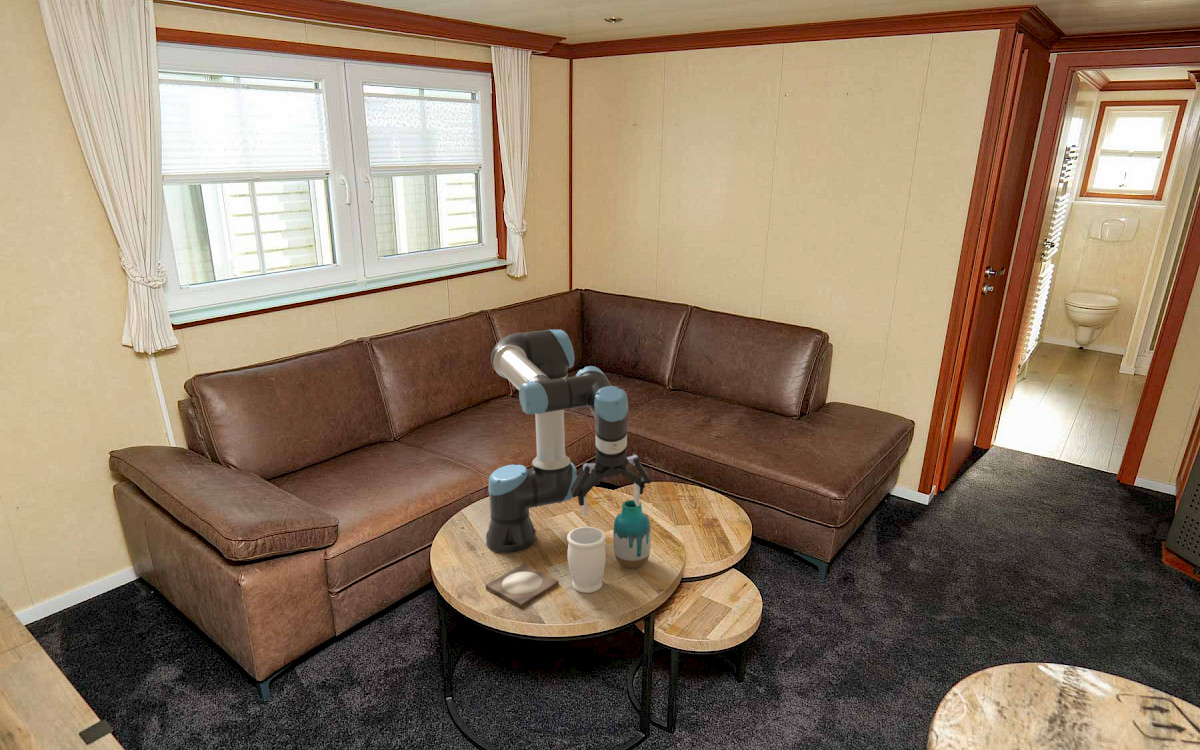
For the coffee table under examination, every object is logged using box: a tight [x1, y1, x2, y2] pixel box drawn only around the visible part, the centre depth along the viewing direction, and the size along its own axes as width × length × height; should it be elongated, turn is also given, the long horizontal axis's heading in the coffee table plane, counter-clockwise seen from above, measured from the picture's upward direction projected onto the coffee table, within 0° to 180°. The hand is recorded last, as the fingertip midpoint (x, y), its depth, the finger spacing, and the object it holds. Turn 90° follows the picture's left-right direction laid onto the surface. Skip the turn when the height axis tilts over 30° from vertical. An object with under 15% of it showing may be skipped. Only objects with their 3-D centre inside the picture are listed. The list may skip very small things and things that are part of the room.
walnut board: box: [485, 563, 560, 609], centre depth 188 cm, size 14×14×1 cm
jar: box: [566, 526, 607, 594], centre depth 186 cm, size 11×10×15 cm
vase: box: [612, 499, 652, 569], centre depth 196 cm, size 11×11×19 cm
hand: (610, 507), depth 177 cm, fingers open, 13 cm apart
